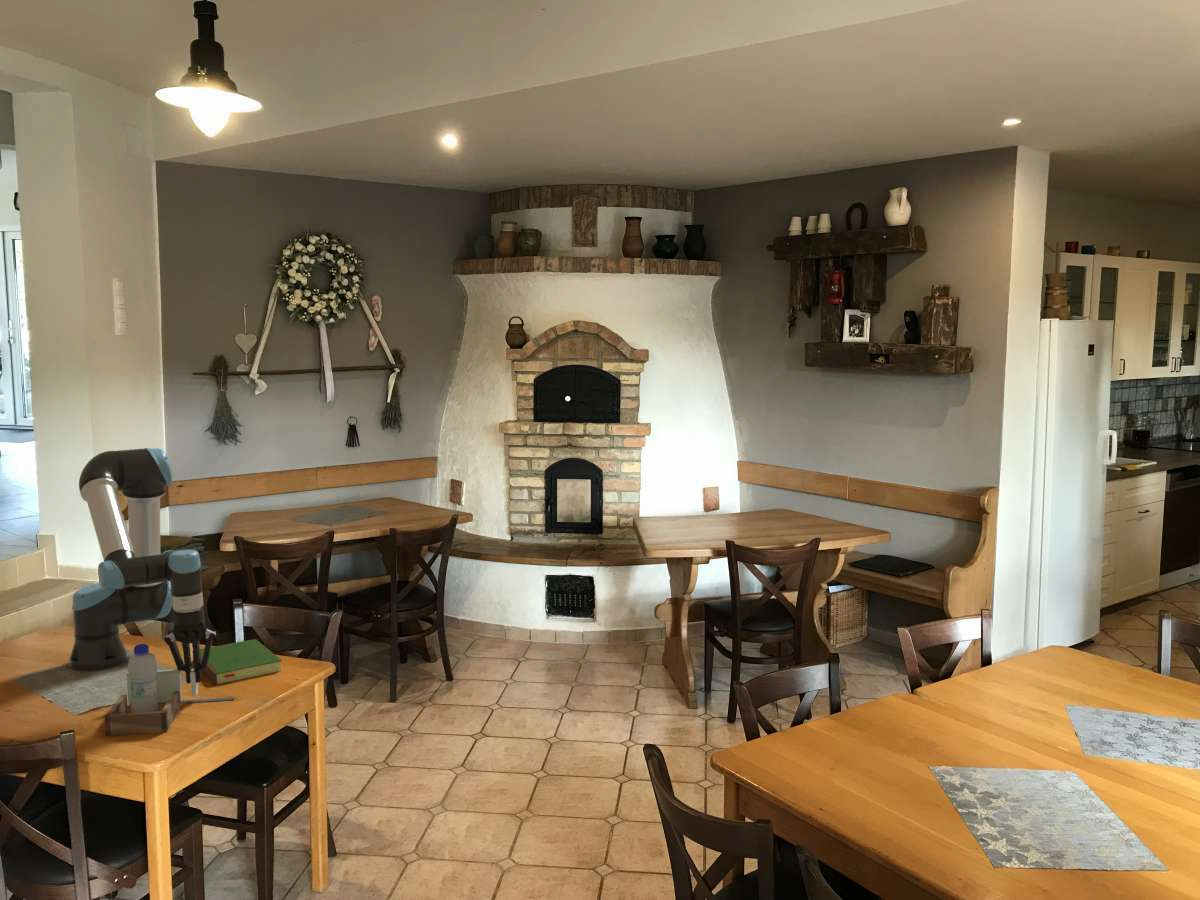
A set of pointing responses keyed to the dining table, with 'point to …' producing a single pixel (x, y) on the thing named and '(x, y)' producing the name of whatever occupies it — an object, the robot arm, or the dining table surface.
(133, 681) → the bottle
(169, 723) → the cradle
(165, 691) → the pale grey flat panel
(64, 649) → the dining table surface
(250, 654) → the hardcover book
